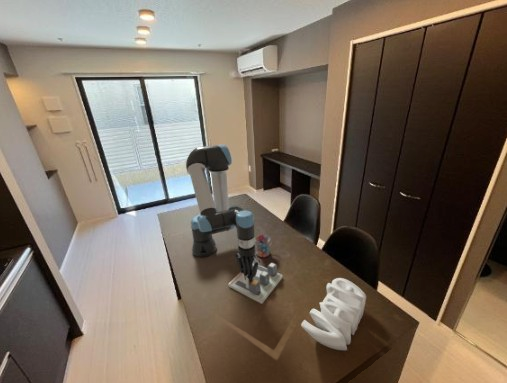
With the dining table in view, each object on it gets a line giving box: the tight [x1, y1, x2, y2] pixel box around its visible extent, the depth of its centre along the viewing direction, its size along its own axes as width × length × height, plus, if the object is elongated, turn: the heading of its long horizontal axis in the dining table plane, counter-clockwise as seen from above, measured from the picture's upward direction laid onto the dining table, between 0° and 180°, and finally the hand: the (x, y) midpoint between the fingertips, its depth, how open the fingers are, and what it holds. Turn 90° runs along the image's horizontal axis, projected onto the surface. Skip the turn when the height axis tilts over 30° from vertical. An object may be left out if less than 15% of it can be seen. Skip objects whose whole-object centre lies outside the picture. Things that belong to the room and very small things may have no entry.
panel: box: [228, 262, 283, 304], centre depth 115 cm, size 20×20×7 cm
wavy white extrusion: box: [300, 277, 367, 351], centre depth 92 cm, size 35×16×11 cm, turn 137°
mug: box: [255, 234, 274, 258], centre depth 137 cm, size 12×9×11 cm
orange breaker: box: [250, 279, 261, 295], centre depth 107 cm, size 4×4×6 cm
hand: (249, 286), depth 110 cm, fingers closed
